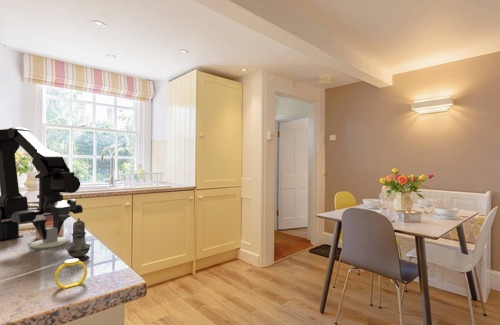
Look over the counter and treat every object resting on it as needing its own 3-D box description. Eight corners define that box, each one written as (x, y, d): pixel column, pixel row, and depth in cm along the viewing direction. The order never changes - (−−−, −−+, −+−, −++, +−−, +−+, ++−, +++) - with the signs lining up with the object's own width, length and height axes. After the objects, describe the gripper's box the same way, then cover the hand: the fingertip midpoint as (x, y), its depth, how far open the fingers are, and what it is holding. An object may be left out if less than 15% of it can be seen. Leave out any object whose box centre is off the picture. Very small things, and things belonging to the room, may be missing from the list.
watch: (85, 281, 62) (87, 256, 62) (86, 286, 60) (88, 259, 60) (53, 287, 58) (55, 260, 59) (54, 292, 56) (56, 264, 56)
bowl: (31, 238, 95) (31, 224, 95) (56, 233, 102) (56, 220, 102) (43, 241, 92) (43, 227, 92) (68, 235, 99) (68, 222, 99)
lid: (24, 245, 86) (24, 229, 86) (58, 237, 95) (57, 223, 95) (40, 250, 81) (40, 233, 81) (74, 241, 90) (74, 226, 90)
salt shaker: (78, 264, 72) (78, 220, 72) (61, 262, 73) (61, 219, 73) (95, 256, 78) (95, 216, 78) (78, 255, 79) (78, 215, 79)
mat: (27, 244, 88) (27, 243, 88) (66, 238, 96) (66, 237, 96) (30, 253, 80) (30, 251, 80) (72, 245, 88) (72, 243, 88)
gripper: (29, 196, 76) (29, 250, 76) (92, 190, 93) (92, 234, 93) (10, 194, 81) (10, 244, 81) (73, 188, 98) (73, 230, 98)
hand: (50, 238), depth 88 cm, fingers open, 3 cm apart
